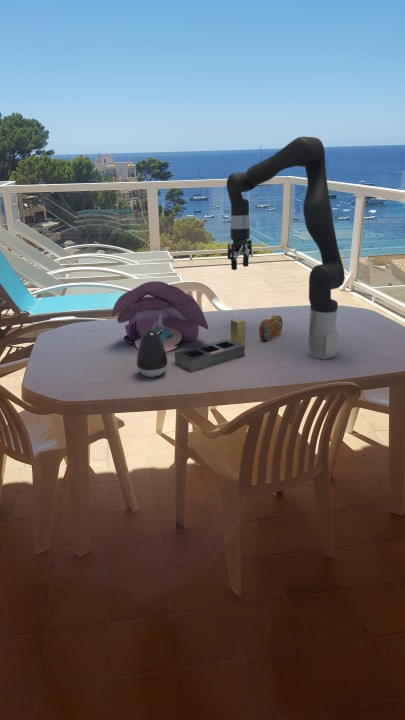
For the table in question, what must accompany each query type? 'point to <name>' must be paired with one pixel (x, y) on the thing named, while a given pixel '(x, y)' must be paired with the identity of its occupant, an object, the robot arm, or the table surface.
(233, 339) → the square peg
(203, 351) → the hole rail
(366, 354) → the table surface
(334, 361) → the table surface
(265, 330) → the tin
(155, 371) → the aroma diffuser
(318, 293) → the robot arm
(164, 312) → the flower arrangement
